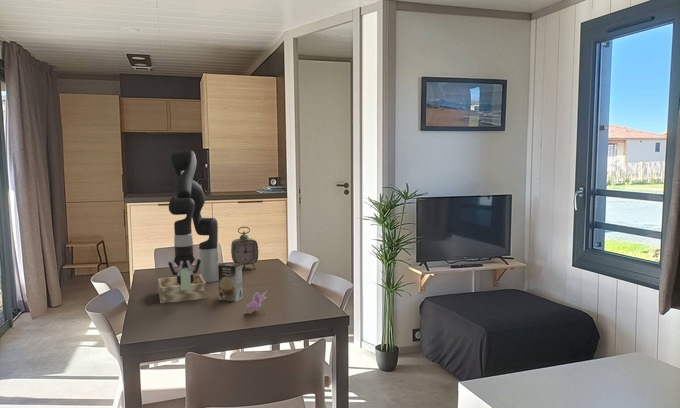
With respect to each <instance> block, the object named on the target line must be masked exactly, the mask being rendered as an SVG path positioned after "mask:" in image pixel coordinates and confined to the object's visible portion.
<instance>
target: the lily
mask: <svg viewBox="0 0 680 408" xmlns="http://www.w3.org/2000/svg"><path fill="white" fill-rule="evenodd" d="M267 292H268V290H266V291H264V292H263V293H261V294H260V293H259V292H258V291H256V292H255V293H254V294H253V296H252V300H251V302H249V303H247V305H246V306H245V307H247V308H246V309H245V310H244V312H243V315H245V314H247V312H249V311H250V310H251V309H253V310H254V311H257V310H258V308H260V309H261V310H262V312H263V315H266V313H265V311H264V309H263V307H262V306H261V305H262V302H263V301H264V300H265V299H267V297H268V296H265V295H266V294H267Z"/></svg>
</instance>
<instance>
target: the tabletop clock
mask: <svg viewBox="0 0 680 408" xmlns="http://www.w3.org/2000/svg"><path fill="white" fill-rule="evenodd" d="M240 229H247V230H248V231H242V232H240ZM250 232H251V230H250V227H248V226H240V227H238V229H237V233H239V234H241V235H239V238H236V239H234V240H231V241H232V242H231V245H230V254H231V255H230V256H231V260H232V261H233V262H232V263H237V264H242V269H244V268H245V269H246V265H252V267H253V269H254V270H256V269H257V266H255V263H257V262H258V260H259V245H258V242H257V240H255V239H253V238H251V237H249V236H248V234H249V233H250Z"/></svg>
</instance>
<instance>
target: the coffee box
mask: <svg viewBox="0 0 680 408" xmlns="http://www.w3.org/2000/svg"><path fill="white" fill-rule="evenodd" d="M218 272H219V281H218V300H219V301H228V302H238V301H240V300H242V299H243V265H242V264H237V263H234V262H222V263H221V264H219V265H218Z"/></svg>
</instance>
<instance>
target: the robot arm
mask: <svg viewBox="0 0 680 408" xmlns="http://www.w3.org/2000/svg"><path fill="white" fill-rule="evenodd" d="M170 163H171V166H172V168H173V170H174V172H175V176H176V177H177V179H176V181H175V184H174V191H173V192H174V193H173V194H172V196H171V198H170V201H169V203H168V211H169V213H170V214H171V215H173V216H179V215H180V216H181V215H183V216H184V215H186V216H185V217H184V218H183V219H177V220H175V222H174V223H173V227H174V228H173V229H174V240H173V241H174V259H173V260H170V261H167V262H168V263H167V265H168V267H169V268H170V272H171V273H172V276H175V277H177V282H178V283H179V285H181V276H180V272H181V270H183V269H185V268H186V269H189V271H190V278H191V283H192V282H193V281H194V280H193V275H195V274H197V273H198V271H199V275H201V276H202V277H203V279H204V281H205V282H206V283H214V282H219V272H218V265H220V264H219V257H218V241H219V239H218V237H219V236H218V233H219V230H218V228H219V225H218V224H219V223H218V221H217V219H216V217H203V216H202V214H201V212H202V210H203V207H204V205H205V202H206V195H205V192H204V190H203V188H202V186H201V185H200V184H199V183H198V182H197V181H196V180H194V176H195V173H196V169H197V163H198V161H197V157H196V154H195V151H193V150H192V149H186V150H180V151H174V152H172V153H171V154H170ZM192 222H193V227H194V230H195V232H196V234H197V235H198V236H208V239H207V240H205V241H201V242H200V243H199V245H198V249H199V250H198V253H199V254H198V256H199V258H195V256H194V240H193V234H192V233H193V232H192ZM193 263H194V264H195V265H194V269H193V268H192V265H193ZM175 264H176V265H177V271H175V269H174V265H175Z"/></svg>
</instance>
